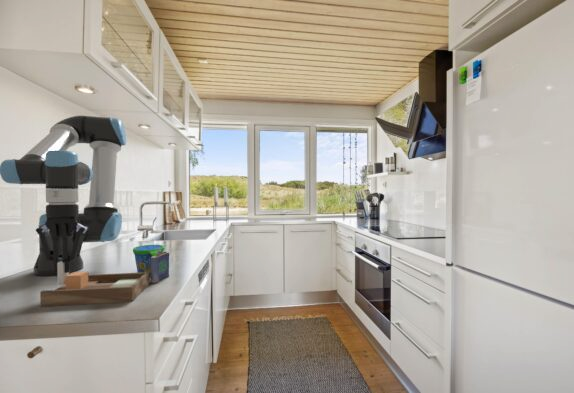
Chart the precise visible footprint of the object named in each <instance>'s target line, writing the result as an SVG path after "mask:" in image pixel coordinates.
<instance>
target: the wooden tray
mask: <svg viewBox="0 0 574 393" xmlns="http://www.w3.org/2000/svg"><path fill="white" fill-rule="evenodd" d="M149 285H151V276H150V272H143V273H138V272H130V273H129V272H128V273H127V272H126V273H125V272H123V273H100V274H96V273H95V274H88V285H87V286H85V287H83V288H82V289H66V286H65V284H64V285H60V286H59V287H58V288H56V289H50V290H48V289H46V290H41V291H40V294H39V295H40V307H41V308H43V307H56V306H59V307H61V306H74V305H92V304H93V305H95V304H97V305H98V304H111V303H112V304H113V303H114V304H115V303H129V302H130V303H131V302H134V300H135V299H137V298H138V296H140V294H141V293H143V292H144V291H145V290H146V288H148V287H149Z"/></svg>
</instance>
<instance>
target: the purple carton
mask: <svg viewBox="0 0 574 393" xmlns="http://www.w3.org/2000/svg"><path fill="white" fill-rule="evenodd" d="M156 251H157V250H156ZM161 251H162V250H159V249H158V252H157V255H155V256H152V257H151V276H150V285H152V284H154V285H155V284H159V283H160V282H162V281H164V280H166V279H168V278H169V277H170V252H168V251H163V252H161Z"/></svg>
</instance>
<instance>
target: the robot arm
mask: <svg viewBox="0 0 574 393" xmlns="http://www.w3.org/2000/svg"><path fill="white" fill-rule="evenodd" d="M77 144H89V147H90V149H92V150H93V151H92V162H91V166H90V165H88V164H86V163H85V162H83V161H80V160H79V156H78V153H77V152H75V151H70V150H69V149H70V147H74V146H76V145H77ZM125 145H127V134H126V130H125V126H124V124H123V121H122V120H121V119H120V118H114V117H104V116H103V117H102V116H89V115H75V116H74V115H73V116H70V117H66V118H64V119H62V120H60V121H58V122H56V123H55V124H53V126H51V127H50V129H49V133H48V134H47V135H46V136H45V137H43V139H41V140H40V141H39V142H38V143H37V144H35V145H34V146H33V147H32V148H31V149H29V151H27V152H26V153H25V154H24V155H23V156H22V157H21V158H20V159H16V158H13V159H12V158H11V159H5V160H3V161H2V162H1V163H0V176H1V179H2V180H3V181H4V182H5V183H7V184H14V185H17V184H18V185H45V203H48V204H46V206H45V213H44V214H41V215H40V216H39V219H38V220H39V222H38V227H36V229H35V232H36V233H37V235H38V241H39V242H38V245H39V246H38V247H39V249H38V250H39V253H38V256H37V257H36V261H35V263H34V266H33V269H32V270H33V275H34V276H38V277H39V276H40V277H49V276H57V286H63V285H65V276H66V275H69V274H71V273H73V272H79V271H80V270H82V269H84V260H83V258H82V256H81V251H82V248H83V247H82V246H83V244H84V243H105V242H113V241H115V240H116V239H117V238H118V237H119V234H120V232H121V229H122V225H123V224H122V223H123V220H122V219H123V215H122V214H121V212H118V211H119V210H118V208H117V206H115V204H114V203H115V190H116V189H115V186H116V176H117V175H116V172H117V159H118V156H117V155H118V152H120V151H121V150H122V146H123V147H124V146H125ZM89 182H90V184H89V185H90V187H89V188H90V189H89V198H88V200H89V201H88V204H87V205H86V206H85V207H84V208H83V213H79V205H78V204H77V203H78V202H79V186H82V185H86V184H88V183H89Z"/></svg>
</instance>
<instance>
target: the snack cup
mask: <svg viewBox="0 0 574 393" xmlns="http://www.w3.org/2000/svg"><path fill="white" fill-rule="evenodd" d="M158 249H159V250H162V251H161V252H165V246H164V245H163V244H145V245H138V246H135V247H133V249H132V252H133V255H134V259H135V265H136V271H137V272H136V273H143V272H150V277H151V257H152V256H155V255H157V252H158ZM156 250H157V251H156Z"/></svg>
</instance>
